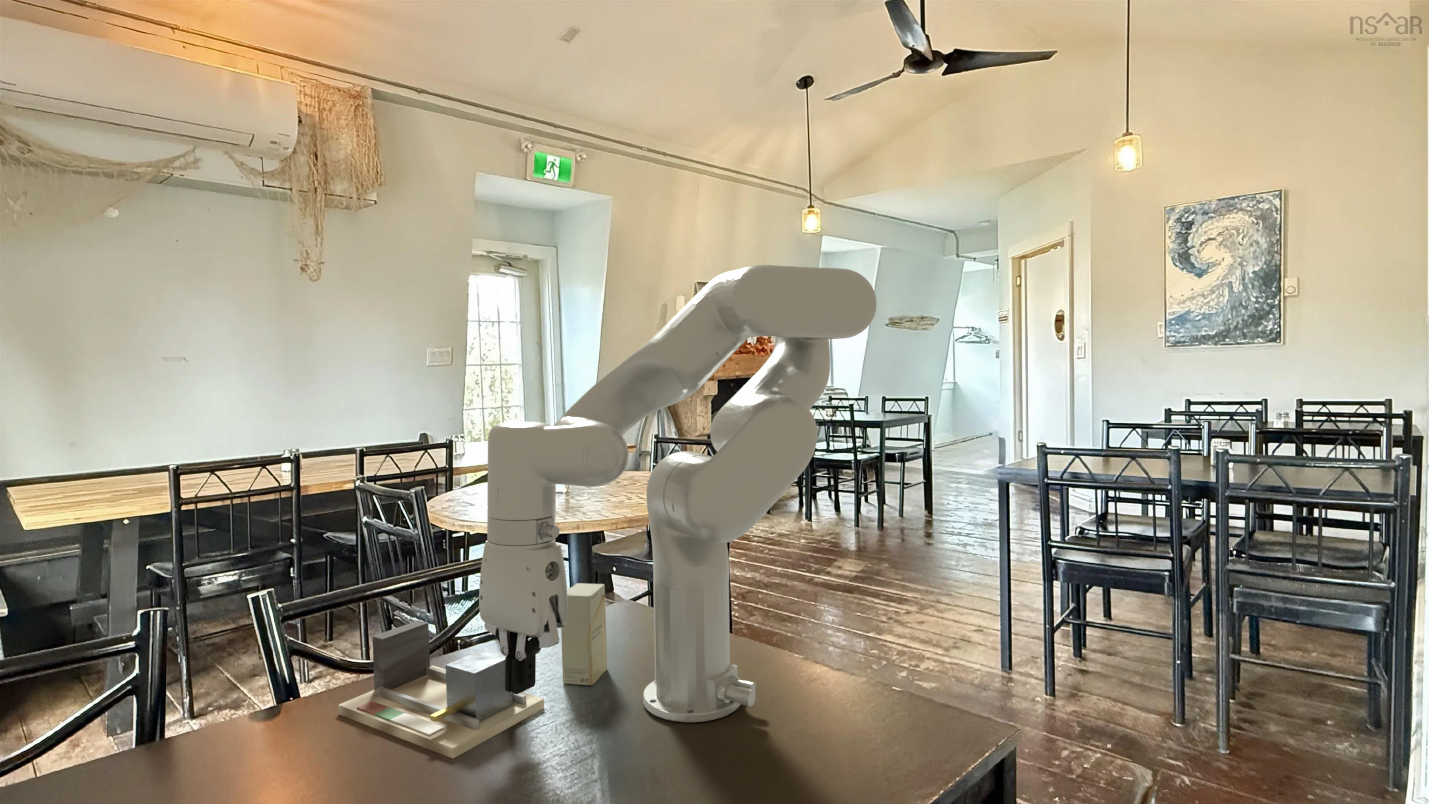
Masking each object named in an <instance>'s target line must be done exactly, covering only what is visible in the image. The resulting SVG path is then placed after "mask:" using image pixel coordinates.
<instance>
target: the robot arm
mask: <svg viewBox="0 0 1429 804" xmlns="http://www.w3.org/2000/svg"><path fill="white" fill-rule="evenodd" d="M877 303H878V302H877V295H876V293H875V290H874V287H873V286H872V284H871V283H870V281H869V280H868V279H867V278H866V277H865V276H864V275H862V274H861V273H859V272H857V271H855V270H851V269H847V268H837V267H815V266H814V267H813V266H793V265H792V266H791V265H779V264H778V265H775V264H773V265H772V264H756V265H754V264H753V265H749V266H745V267H741V268H738V269H734V270H729V271H726V272H723V273H721V274H718V275H717V276H716V277H714V278H713V279H711V280H710V281H709V282H707V283H706V284H705V286H703V287H702V288H701V289H700V290H699V291H698V292H697V293H696V294H695V295H694V296H693V297H692V298H691V299H690V300H689V301H688V302H687V303H686V304H685V305H684V306H683V307H682V308H681V309H680V310H679V311H678V312H677V313H676V314H674V316H673V317H672V318H671V319H670V320H669V321H667V323H666V324H665V325H664V326H663V327H662V328H661V329H660V330H659V331H658V332H657V333H656V334H654V335H653V336H652V337H651V338H650V339H649V340H648V341H647V342H645V343H644V345H642V346H641V347H640V348H639V349H637V350H636V351H634V352H633V353H632V354H631V355H630V356H628V357H627V358H626V359H625V360H623V361H622V362H621V363H620V364H618V366H617V367H615V368H614V369H612V370H611V371H610V372H609V373H607V374H606V375H605V376H603V377H602V378H601V379H600V380H599V381H597V382H596V383H595V384H594V385H593V386H591V387H590V388H589V389H588V390H587V391H586V392H585V393H584V394H583V395H581V397H580V398H578V400H576V401H575V403H573V404H572V406H570V407H569V408H568V410H566V411H565V412H564V413H563V415H561V417H559V418H558V420H556V422H555V423H554V424H553V426H551V425H550V424H548V423H545V422H538V421H507V422H499V423H497V424H495V425H493V426H492V427H491V429H490V430H489V433H488V436H487V511H486V512H487V517H486V518H487V521H486V523H487V524H486V525H487V528H486V529H487V531H486V532H487V533H486V535H487V537H486V538H487V540H485V543H484V547H483V551H482V552H483V553H482V559H481V565H480V566H481V567H480V574H479V575H480V577H479V589H478V591H479V592H478V593H479V595H478V602H479V603H478V606H479V607H478V608H479V616H480V619H481V621H483V622H484V625H483V626H484V629H485V630H486V631H487V632H489V633H490V634H491V635H493V636H495V637H496V639H497V640H498V642H499V645H500V652H501V653H502V655H503V656H506V657H505V690H506V691H508V692H512V693H514V694H519V693H521V692H523V693H524V692H525V691H528V690H529V689H531V688H533V687H535V686H536V669H537V667H536V664H537V662H536V660H537V659H536V656H537V654H539V653H540V652H541V650H542V649H544V648H545V649H547V648H548V649H549V648H551V647H554V646H556V645H558V644H559V643H560V638H559V630H558V629H561V627H564V626H565V625H566V624H567V618H568V602H567V590H568V589H567V574H566V566H565V559H564V554H563V551H562V547H561V546H562V545H561V543H560V542H556V538H558V536H559V535H560V527H559V526H557V525H556V507H557V506H556V503H557V501H556V497H557V495H556V488H557V487H556V485H561V486H562V485H564V486H565V485H566V486H576V487H585V488H598V487H602V486H606V485H609V484H610V483H613V482H614V481H616V480H618V479H619V477H620V476H621V475H622V474H623V473H624V471H625V469H626V468H627V465H628V463H629V456H630V455H629V448H628V444H627V441H626V439H625V438H624V435H625V434H626V433H627V432H628V431H630V429H632V428H633V427H634V426H635V425H637V424H638V423H639V422H641V421H642V420H644V419H645V418H646V417H648V416H649V415H651V414H653V413H655V412H657V411H659V410H661V409H662V410H663V409H664V408H666V407H669V406H672V405H675V404H677V403H679V402H681V401H683V400H685V399H687V398H689V397H690V396H692V395H694V394H696V392H698V390H700V389H701V387H702V386H703V385H704V384H705V383H706V382H707V381H708V380H709V379H710V378H711V377H712V376H713V375H714V374H715V373H716V372H717V371H718V370H719V369H720V368H721V367H722V366H723V364H724V363H726V362H727V360H728V359H730V357H732V355H733V354H734V353H735V352H736V351H737V350H738V349H739V348H740V347H741V346H743V344H744V343H745V342H746V341H747V340H749V339H750V338H756V337H757V338H758V337H759V338H760V337H775V338H774V346H773V348H772V349H773V350H771V351H772V352H771V354H770V355H769V357H768V359H766V360H765V362H764V363H763V365H761V367H760V368H759V369H758V371H756V373H755V374H753V375H752V377H751V378H750V379H748V380H747V382H746V383H745V384H743V385H742V387H741V388H740V389H739V390H738V391H736V393H735V394H734V395H733V396H732V397H731V398H730V399H728V401H727V402H726V403H725V404H724V405H723V406H722V407H721V408H720V409H719V411H718V412H717V413H716V415H715V416H714V417H713V419H712V423H711V425H710V431H709V433H710V441H711V444H712V447H713V448H714V450H715V451H716V453H715V454H714V455H713V456H712V455H707V454H704V453H700V452H696V451H688V450H684V451H683V450H682V451H678V452H673V453H670V454H668V455H666V456H665V457H663V458H662V459H661V460H659V462H658V463H657V464H656V465H655V466H654V468H653V469H652V471H651V473H650V475H649V478H648V481H647V486H646V509H647V515H648V522H649V528H650V530H649V531H650V536H651V546H652V548H651V549H652V568H653V574H652V575H653V577H652V578H653V580H652V581H653V584H652V585H653V586H652V587H653V636H654V637H653V638H654V640H653V642H654V644H653V645H654V680H653V681H652V682H650V683H649V684H647V685H646V687H645V688H644V690H643V692H642V694H643V695H642V702H643V706H644V708H645V709H646V711H648V712H650V713H651V714H652V715H654V716H655V717H657V718H661V719H663V720H666V721H672V722H679V723H701V722H703V723H704V722H709V721H713V720H717V719H721V718H725V717H726V716H728V715H729V714H732V713H734V712H735V711H736V710H737V709H739V707H740V706H741V705H743V706H747V707H753V705H754V704H755V701H756V695H757V694H756V689H757V688H756V687H757V685H756V684H757V683H756V682H754V681H750V680H743V679H740V677H739V676H738V670H739V669H738V665H736V664H733V663H730V662H731V657H730V656H731V651H730V650H731V649H730V648H731V647H730V641H731V639H730V560H729V559H730V558H729V550H728V543H730V542H733V541H735V540H737V539H739V538H740V537H742V536H744V535H745V534H746V533H747V532H749V531H750V530H751V529H752V528H753V527H754V526H755V525H756V524H757V523H758V522H759V521H760V520H761V519H762V518H763V517H764V515H766V514H767V512H768V511H769V510H770V509H771V507H773V506H774V504H776V503H777V501H778V500H779V499H781V497H782V496H783V494H784V493H786V491H787V490H788V489H789V488H790V487H791V486H792V485H793V484H794V483H795V482H796V480H797V479H798V478H799V477H800V476H801V474H802V473H803V472H804V471H805V470H806V468H807V467H808V465H809V463H810V462H811V460H812V458H813V456H814V453H815V450H816V447H817V442H818V427H817V423H816V419H815V417H814V415H813V414H812V412H811V409H812V407H813V406H814V405H815V404H816V403H817V402H818V401H819V399H820V398H821V396H822V395H823V393H824V392H825V389H826V388H827V386H828V383H829V379H830V374H831V350H830V349H831V347H830V340H837V339H841V340H842V339H848V338H852V337H855V336H858V335H859V334H862V333H863V331H865V330H866V329H867V328H868V327H869V326H870V324H871V323H872V321H873V319H874V318H875V315H876V311H877Z"/></svg>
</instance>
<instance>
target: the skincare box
mask: <svg viewBox="0 0 1429 804" xmlns="http://www.w3.org/2000/svg"><path fill="white" fill-rule="evenodd" d="M605 589H606V587H605V583H587V582H585V583H581V582H576V583H575V584H573V585H572V586H570V587H569V588H568V589H567V602H568V618H567V624H566V625H565V626H564V627H561V628H560V631H561V632H560V633H561V659H562V661H561V662H562V663H561V664H562V666H561V667H562V683H563V684H564V685H565V684H569V685H577V686H593V685H594V684H595V683H596V682H597V681H598V680H599V679H600V678H601V676H602V675H603V674H604V673H605V672H606V671H607V669H608V650H607V647H608V645H607V621H606V619H607V617H606V616H607V614H606V590H605Z"/></svg>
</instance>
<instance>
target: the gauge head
mask: <svg viewBox="0 0 1429 804" xmlns="http://www.w3.org/2000/svg"><path fill="white" fill-rule="evenodd" d="M505 657H506V656H503V655H502V653H501V651H500V652H499V651H496V650H493V649H489V648H482V649H479V650H478V651H475V652H473V653H470V654H467V655H466V656H463V657H461V658H459V659H456V660H454V661H451V662H449V663H447V664H445V669H446V692H447V707H446V708H444V709H442V710H440V711H438V712H436V713H434V714H432V715H430V720H431V721H434V722H436V721H438V720H440V719H442V718H444V717H446V716H448V715H450V714H452V713H454V712H458V713H461V714H464V715H467V716H470V717H472V718H475V719H478V720H479V722H481V721H483V720H485V719H486V718H488V717H490V716H492V715H494V714H496V713H498V712H500V711H502V710H504V709H505V708H507V707H509V706H511V705H513V704H515V702H514V693H512V692H508V691H506V690H505Z"/></svg>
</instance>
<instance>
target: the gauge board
mask: <svg viewBox="0 0 1429 804" xmlns="http://www.w3.org/2000/svg"><path fill="white" fill-rule="evenodd" d="M429 629H430V628H429V622H427V621H423V620H419V619H418V620H416V621H413V622H410V623H407V624H403V625H401V626H398V627H396V628H393V629H389V630H387V631H384V632H380V633H378V634H375V635H372V657H373V658H372V659H373V661H372V663H373V682H374V688H373V690H371V691H368V692H365V693H363V694H361V695H358V696H356V697H354V698H352V699H348V700H346V701H344V702H340V704H338V706H337V709H338V710H337V711H338V715H339V716H342V717H345V718H347V719H350V720H352V721H355V722H358V723H360V724H363V725H365V726H368V727H371V728H372V729H376V730H378V731H381V732H383V733H386V734H389V735H391V736H393V737H396V738H399V739H402V740H404V741H406V742H409V743H410V744H411V743H412V744H415V745H417V746H419V747H422V748H424V749H427V750H430V751H433V752H435V753H436V754H437V753H438V754H441V755H443V756H445V757H448V758H449V759H450V758H451V759H455V758H457V757H460V756H461V755H463V754H465V753H466V752H468V751H469V750H472V749H474V748H475V747H477V746H479V745H480V744H483V743H484V742H486V741H487V740H489V739H491V738H494V737H495V736H497V735H499V734H500V733H502V732H503V731H504V732H505V730H507V729H510V728H511V727H513V726H515V725H516V724H518V723H521V722H522V721H524V720H525V719H527V718H529V717H531V716H532V715H535V714H536V713H538V712H540V711H542V710H544V709H545V698H543V697H540V696H537V695H533V694H529V693H526V692H524V691H523V692H521V693H519V694H514V702H515V704H513V705H511V706H509V707H507V708H505V709H504V710H502V711H500V712H498V713H496V714H494V715H492V716H490V717H488V718H486V719H485V720H483V721H481V722H479V720H478V719H475V718H472V717H470V716H467V715H464V714H461V713H458V712H454V713H452V714H450V715H448V716H446V717H444V718H442V719H440V720H438V721H436V722H434V721H431V720H430V715H432V714H434V713H436V712H438V711H440V710H442V709H444V708H446V707H447V692H446V668H442V667H439V666H436V665H431V661H430V660H431V658H430V657H431V656H430V631H429Z"/></svg>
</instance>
